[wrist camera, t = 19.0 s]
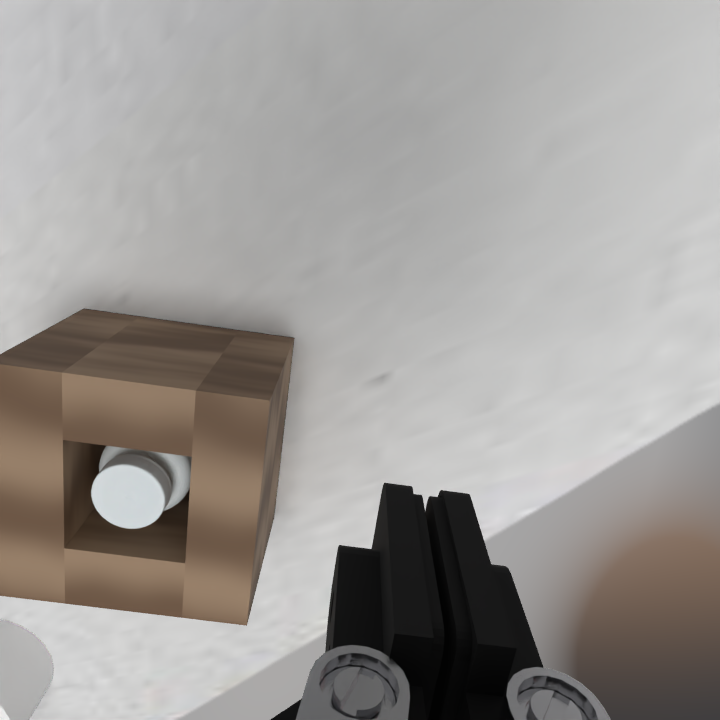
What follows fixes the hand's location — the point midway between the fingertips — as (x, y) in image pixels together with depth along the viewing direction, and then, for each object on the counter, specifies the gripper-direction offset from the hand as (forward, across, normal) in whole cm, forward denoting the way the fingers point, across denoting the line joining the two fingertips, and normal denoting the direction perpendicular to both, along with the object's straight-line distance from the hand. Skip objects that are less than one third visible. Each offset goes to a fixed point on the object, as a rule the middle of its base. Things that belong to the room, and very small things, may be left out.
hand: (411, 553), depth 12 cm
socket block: (+29, +12, +12) cm, 34 cm away
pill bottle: (+28, +12, +12) cm, 33 cm away
